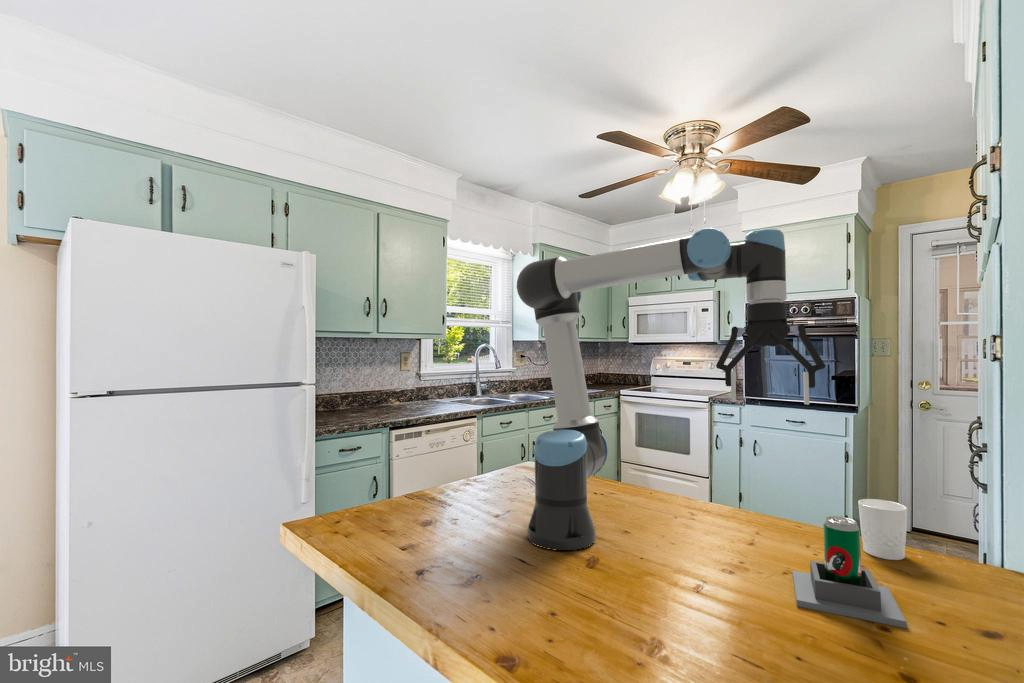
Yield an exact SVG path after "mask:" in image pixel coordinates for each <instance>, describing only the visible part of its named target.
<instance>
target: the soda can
mask: <svg viewBox="0 0 1024 683" xmlns="http://www.w3.org/2000/svg"><path fill="white" fill-rule="evenodd" d="M822 524H823V525H822V526H823V553H824V554H823V558H824V561H823V562H824V563H825V580H827V581H833V582H839V583H844V584H850V585H856V586H861V587H862V572H861V569H862V552H861V551H862V550H861V549H862V546H861V545H862V544H861V528H859V526H858V522H857V521H855V520H854V519H852V518H848V517H843V516H836V515H833V516H832V515H830V516H827V517H825V521H824V522H823V523H822Z"/></svg>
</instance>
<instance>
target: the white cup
mask: <svg viewBox="0 0 1024 683" xmlns="http://www.w3.org/2000/svg"><path fill="white" fill-rule="evenodd" d="M857 503H858V514H859V524H860V537H861V539H862V549H863V551H864V552H865V553H867V554H868V555H871V556H873V557H876V558H879V559H884V560H891V561H902V560H903V559H906V543H907V525H908V524H907V520H908V519H907V518H908V517H907V516H908V515H907V514H908V508H907V506H905V505H903V504H902V503H898V502H894V501H890V500H885V499H878V498H876V499H875V498H862V499H859V500H858V501H857Z"/></svg>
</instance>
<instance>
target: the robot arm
mask: <svg viewBox="0 0 1024 683" xmlns="http://www.w3.org/2000/svg"><path fill="white" fill-rule="evenodd" d="M784 235H785V234H784V232H783V231H781V230H780V229H776V228H763V229H758V230H753V231H750V232H748V233H746V235H745V238H744V241H743V242H738V243H731V242H730V240H729V238H728V237H727V236H726V234H725V233H724V232H722V231H721V230H719V229H717V228H714V227H706V228H702V229H698V230H697V231H696V232H695V233H693V234H692V235H689V236H686V237H681V238H676V239H675V238H674V239H670V240H663V241H659V242H654V243H648V244H644V245H639V246H634V247H629V248H623V249H618V250H613V251H607V252H602V253H596V254H592V255H586V256H581V257H575V258H571V259H566V258H564V257H562V256H558V257H557V256H556V257H553V258H546V259H541V260H537V261H533V262H530V263H529V264H527V265H526V266H524V267H523V268H522V270H521V271H520V273H519V274H518V276H517V281H516V290H517V294H518V297H519V298H520V300H521V301H522V302H523V304H525V305H526V306H527V307H530V308H532V309H533V310H534V316H535V322H536V324H538V325H539V326H540V327H541V328H542V330H543V331H542V332H543V336H544V342H545V343H544V344H545V348H546V349H545V350H546V353H547V354H546V356H547V362H548V367H549V374H550V380H551V386H552V392H553V397H554V404H555V409H556V410H555V411H556V417H557V418H556V419H557V420H556V422H555V423H554V425H553V426H552V430H550V431H545V432H543V433H541V434H540V435H538V436H537V437H536V439H535V442H534V443H535V444H534V450H533V454H534V455H533V456H534V486H535V487H534V489H535V490H534V491H535V495H534V497H535V498H534V499H535V502H534V505H533V506H534V507H533V510H532V513H531V515H530V518H529V522H528V528H527V539H528V538H529V540H530V541H531V542H532V543H534V544H536V545H539V546H542V547H545V548H550V549H556V550H573V551H578V550H577V549H580V550H582V549H581V548H584V547H587V546H589V545H591V544H592V543H593V542H594V541H595V542H596V527H595V525H594V522H593V518H592V514H591V512H590V509H589V507H588V479H590V478H591V477H592V476H595V475H596V474H597V473H599V472H600V471H601V470H602V468H603V467H604V465H605V464H606V462H607V460H608V457H609V444H608V442H607V439H606V438H605V435H603V433H601V428H600V422H599V419H597V417H595V416H593V415H592V413H591V412H592V411H591V405H590V399H589V394H588V388H587V382H586V375H585V370H584V364H583V358H582V353H581V346H580V340H579V334H578V330H577V329H578V328H577V320H578V319H579V318H580V317H581V311H580V303H581V299H582V292H584V291H592V290H597V289H604V288H611V287H616V286H622V285H628V284H635V283H641V282H646V281H652V280H657V279H665V278H670V277H676V276H682V275H687V277H688V279H689V281H692V282H693V281H694V282H696V281H698V282H699V281H701V282H707V281H715V280H724V279H725V280H726V279H733V278H734V279H737V278H738V279H739V278H740V279H741V278H745V279H746V280H745V281H746V284H745V285H746V302H747V303H748V304H747V306H746V321H747V322H746V324H747V325H746V327H738V326H732V327H731V331H730V332H731V333H730V337H729V339H728V341H727V343H726V345H725V347H724V349H723V351H722V353H721V355H720V357H719V359H718V360H717V362H716V364H715V367H716V369H718V370H722V371H723V372H724V373H725V374H724V376H725V377H724V378H725V382H724V383H725V386H726V387H730V389H731V390H730V392H731V394H730V395H731V398H730V399H731V400H730V401H731V403H736V402H737V394H736V393H737V392H736V390H737V388H736V386H737V385H736V383H737V381H736V371H732V370H733V369H734V368H735V367H736V365H738V364H739V362H741V360H742V359H743V358H744V357H745V356H746V355H747V354H748V352H749V351H750V350H751V349H752V348H753V347H754V346H757V347H760V348H762V347H763V348H764V347H767V346H769V347H778V346H779V345H781V347H783V348H784V349H785V350H786V351H787V352H788V353H789V354H790V355H791V356H792V357H793V358H794V359H795V360H797V362H798V363H799V364H801V365H802V367H804V368H805V370H807V371H803V372H802V381H803V382H802V383H803V404H804V405H807V406H809V405H810V389H814V388H815V387H816V372H817V371H820V370H824V369H825V368H826V364H825V362H824V361H823V359H822V358H821V356H820V354H819V353H818V351H817V349H816V348H815V347H814V345H813V343H812V341H811V340H810V338H809V337H808V335H807V332H806V327H805V324H803V323H801V324H798V325H792V326H789V324H788V307H787V306H788V305H787V304H786V302H785V301H786V300H787V281H786V280H787V279H786V278H787V271H786V270H787V269H786V268H787V266H786V260H787V259H786V246H785V244H786V243H785V236H784ZM790 332H791V333H793V334H794V336H796V337H797V336H798V338H799V339H800V341H801V343H802V344H803V346H804V348H805V350H806V351H807V352H808V354H809V355H810V357H811V359H812V361H813V362H814V364H811V362H809V361H808V360H807V358H805V357H804V355H803V354H801V353H800V352H799V351H798V350H797V349H796V348H795V347H794V346H793V345H792V344H791V343H790V342H789V341H788V340H787V339H786V337H788V335H789V334H790ZM744 333H745V334H746V336H747V337H748V338H749V341H747V343H746V344H745V345H744V346H743V347H742V349H740V350H739V352H738V353H737V354H736V355H735V356H734V357H733V358H732V360H731V361H729V362H728V363H727V364H725V363H726V361H727V359H728V357H729V355H730V354H731V352H732V350H733V347H734V345H735V344H736V342H737V340H738V338H740V337H742V335H743V334H744ZM529 540H528V541H529ZM530 541H529V542H530ZM531 542H530V543H531ZM595 542H594V543H595ZM532 543H531V544H532ZM534 544H533V545H534ZM536 545H535V546H536ZM592 545H593V544H592ZM592 545H591V546H592ZM589 547H590V546H589ZM587 548H588V547H587ZM584 549H585V548H584Z"/></svg>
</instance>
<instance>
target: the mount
mask: <svg viewBox="0 0 1024 683" xmlns="http://www.w3.org/2000/svg"><path fill="white" fill-rule="evenodd" d="M809 562H810V564H809V566H810V573H808V572H803V571H798V570H792V579H793V587H794V594H795V596H794V597H795V602H796V607H799V608H803V609H804V608H805V609H810V610H814V611H820V612H825V613H829V614H835V615H838V616H839V615H840V616H845V617H847V618H854V619H859V620H864V621H869V622H873V623H878V624H884V625H889V626H893V627H899V628H902V629H907V620H906V618H905V616H904V614H903V613H902V611H901V609H900V607H899V606H898V604H897V601H896V600H895V598H894V596H893V594H892V592H891V591H890V588H889V587H888V586H883V585H880V584H879V585H878V584H877V582H876V580H875V577H874V575H873V574H872V571H871V570H870V569H866V568H861V572H862V587H861V586H856V585H850V584H844V583H839V582H833V581H827V580H825V561H823V562H822V561H817V560H816V561H815V560H810V561H809Z"/></svg>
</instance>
